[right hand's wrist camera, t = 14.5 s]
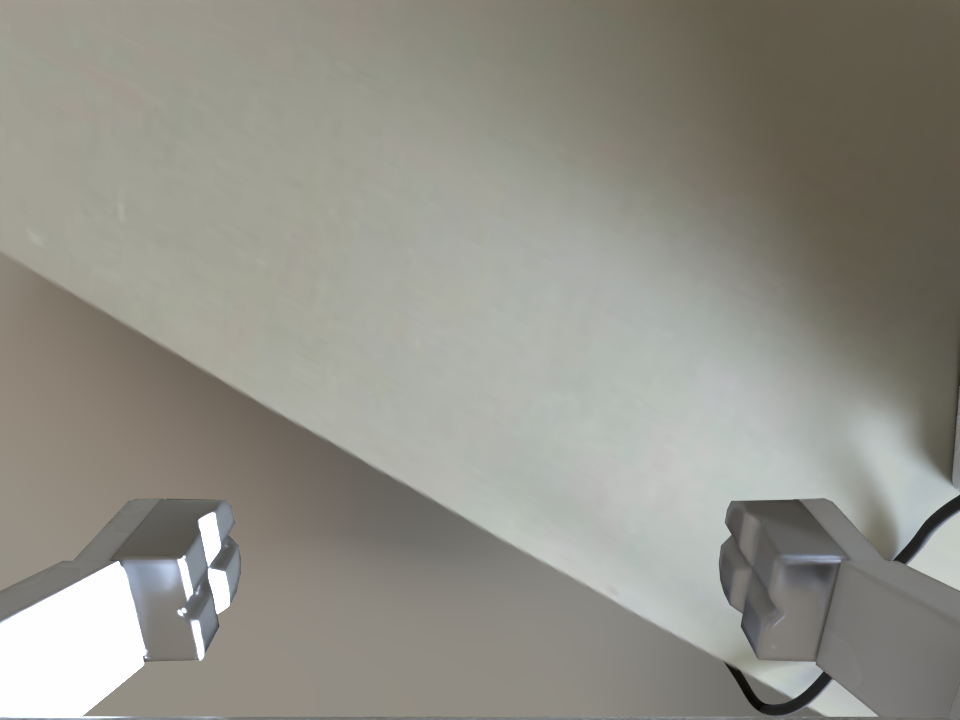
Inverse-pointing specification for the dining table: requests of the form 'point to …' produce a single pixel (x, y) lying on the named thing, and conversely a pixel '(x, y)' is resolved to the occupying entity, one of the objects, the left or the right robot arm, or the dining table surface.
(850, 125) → the dining table surface
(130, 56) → the dining table surface
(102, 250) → the dining table surface
